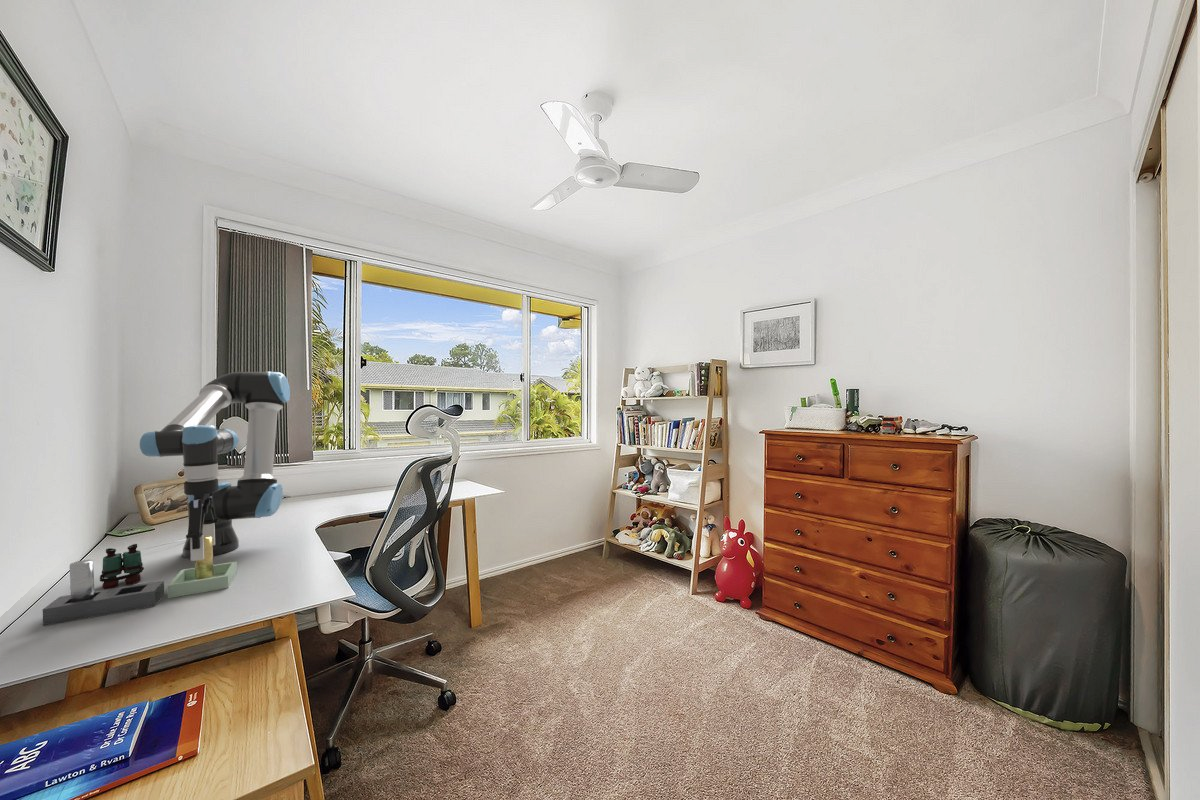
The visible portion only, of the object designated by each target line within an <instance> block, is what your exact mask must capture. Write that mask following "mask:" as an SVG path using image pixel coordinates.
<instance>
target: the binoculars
mask: <svg viewBox="0 0 1200 800" xmlns="http://www.w3.org/2000/svg"><path fill="white" fill-rule="evenodd" d="M137 548H138V543H133V544H131V545H129V546H128V547H127V550H128V551H124V552H123V553H121V552H119V553H116V552H117V549H116V548H106V549H105V553H106V555H105V556H103V557H102V570H101V574H100V575H99V582H101V583H102V587H101V589H102V590H105V589H111V588H118V587H119V584H120V581H122V580H124V583H125V586H130V585H136V584H138V583H139V582H140V581H141V580H142V577H141V573H143V571H144V569H145V567H144V566H143V565H144V563H143V560H142V552H141V550H138V549H137ZM122 572H123V573H124V574H126V575H121V574H122ZM119 575H120V576H119ZM117 576H118V577H117Z"/></svg>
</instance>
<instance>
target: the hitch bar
mask: <svg viewBox="0 0 1200 800" xmlns="http://www.w3.org/2000/svg"><path fill="white" fill-rule="evenodd" d="M165 592H166V591H165V580H164V579H163V580H158V581H157V580H156V581H151V582H145V583H143V582H142V583H136V584H132V585H125V586H118V587H116V588H111V589H101V590H94V595H95V597H94V598H93V599H91V600H85V601H79V602H73V603H71V594H69V595H62V596H58V597H57V598H56V599H54V600H53V601H51V603H49V604H48V605H46V606H45V607H43V609H42V627H43V626H44V627H45V626H50V625H57V624H63V623H67V622H73V621H78V620H84V619H88V618H89V619H90V618H95V617H101V616H105V615H106V616H107V615H113V614H119V613H123V612H124V613H125V612H130V611H135V610H141V609H147V608H151V607H152V608H153V607H155V606H156V605H157V604H158V603H159V602H160V601H161V600H162V598H163V597H164V596H165V594H166V593H165Z"/></svg>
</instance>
